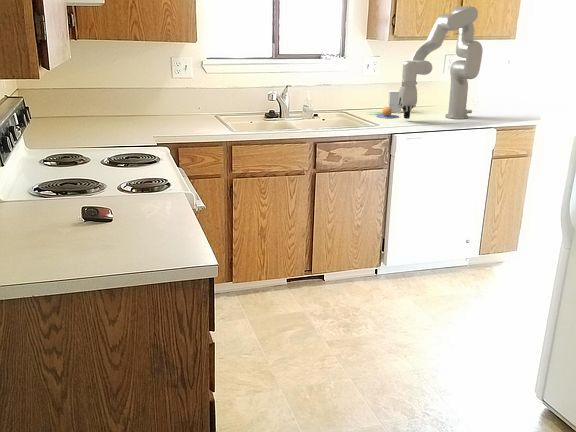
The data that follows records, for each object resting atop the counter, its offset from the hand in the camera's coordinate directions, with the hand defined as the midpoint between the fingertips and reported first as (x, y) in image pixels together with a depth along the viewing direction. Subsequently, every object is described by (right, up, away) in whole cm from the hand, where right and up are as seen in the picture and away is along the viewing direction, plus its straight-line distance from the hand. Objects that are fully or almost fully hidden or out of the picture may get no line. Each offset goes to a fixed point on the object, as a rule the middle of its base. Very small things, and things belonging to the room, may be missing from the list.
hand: (406, 118), depth 330 cm
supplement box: (-1, +9, +31) cm, 32 cm away
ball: (-8, +6, +14) cm, 18 cm away
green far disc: (-13, +7, +25) cm, 29 cm away
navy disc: (-8, +3, +15) cm, 17 cm away
